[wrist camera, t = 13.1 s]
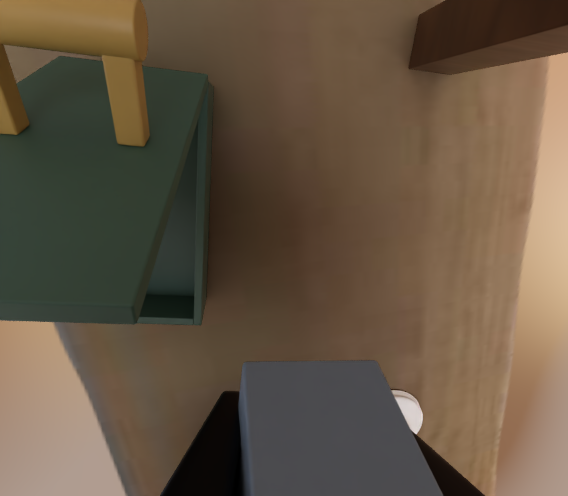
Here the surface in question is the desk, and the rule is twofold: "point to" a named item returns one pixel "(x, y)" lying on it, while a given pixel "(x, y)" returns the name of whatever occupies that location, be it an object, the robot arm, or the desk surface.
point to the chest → (185, 237)
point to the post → (488, 34)
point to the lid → (87, 161)
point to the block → (325, 433)
